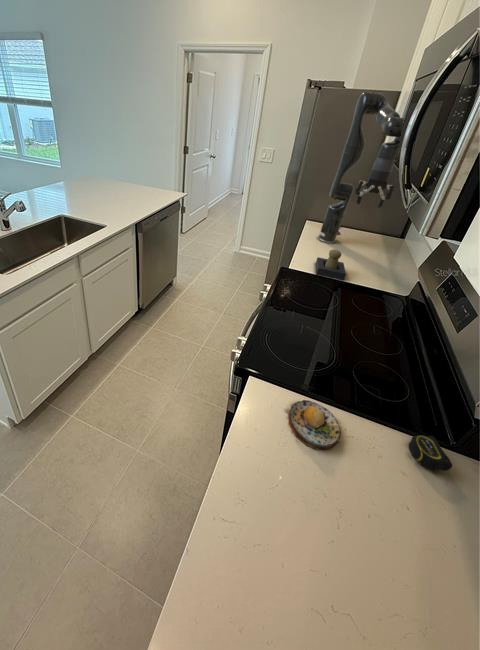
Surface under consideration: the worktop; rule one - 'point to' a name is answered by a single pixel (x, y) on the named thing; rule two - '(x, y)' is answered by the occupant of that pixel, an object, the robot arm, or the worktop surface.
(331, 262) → the olive flared shaker
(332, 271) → the base pad
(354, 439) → the worktop surface
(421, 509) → the worktop surface
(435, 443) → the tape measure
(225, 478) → the worktop surface
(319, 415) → the speckled dish
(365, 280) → the worktop surface
